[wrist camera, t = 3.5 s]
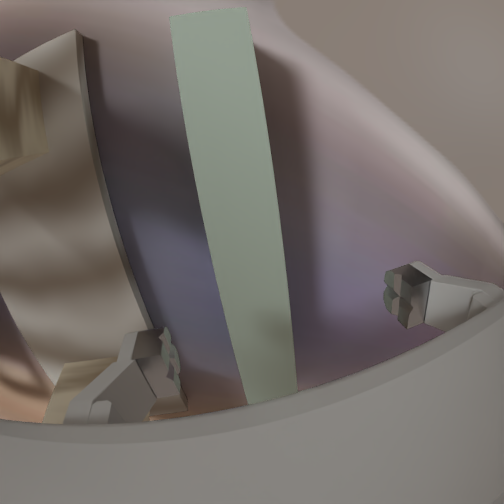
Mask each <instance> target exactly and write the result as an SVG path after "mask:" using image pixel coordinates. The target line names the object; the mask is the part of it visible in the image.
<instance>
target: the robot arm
mask: <svg viewBox="0 0 504 504" xmlns="http://www.w3.org/2000/svg"><path fill="white" fill-rule="evenodd" d="M384 282H385V283H386V285H387V287H386V289H385V291H384V303H385V306H386V308H387V310H388V311H389V312H390V313H391V314H393V315H397V316H398V321H399V322H400V323H401V324H402V325H403V326H404V327H405V328H406V329H409V328H411V327H414V326H416V325H419V324H421V323H425V324H427V325H430V326H432V327H435V328H437V329H440V330H442V331H445V332H446V333H444V334H442V335H440V336H438V337H436V338H434V339H432V340H430V341H428V342H426V343H424V344H422V345H420V346H417V347H415V348H413V349H411V350H409V351H407V352H405V353H402V354H400V355H398V356H396V357H393V358H391V359H389V360H386V361H384V362H381V363H379V364H376V365H374V366H372V367H369V368H367V369H364V370H361V371H359V372H356V373H353V374H351V375H348V376H345V377H343V378H340V379H337V380H334V381H331V382H328V383H325V384H322V385H319V386H316V387H313V388H309V389H306V390H303V391H299V392H296V393H293V394H289V395H285V396H282V397H278V398H274V399H270V400H266V401H262V402H258V403H254V404H250V405H245V406H241V407H236V408H231V409H226V410H221V411H216V412H210V413H205V414H199V415H192V416H186V417H179V418H171V419H163V420H154V421H143V420H144V418H145V417H146V415H147V414H148V412H149V411H150V409H151V408H152V406H153V405H154V403H155V402H156V400H157V399H156V398H162V397H168V396H174V395H179V394H180V379H179V377H178V374H179V373H180V360H179V356H178V353H177V350H176V347H175V346H174V345H172V344H171V335H170V333H169V330H168V328H167V327H160V328H155V329H149V330H142V331H136V332H131V333H127V334H125V335H124V338H123V342H122V345H121V348H120V352H119V355H118V359H117V362H114V363H112V364H111V365H110V366H109V367H107V368H106V369H105V370H104V371H103V372H102V373H101V374H100V375H99V376H97V377H96V378H95V379H94V380H93V381H92V382H91V383H90V384H89V385H88V386H86V387H85V388H84V389H83V390H82V391H81V392H80V393H79V394H78V395H77V396H75V397H74V398H73V399H72V400H71V401H70V403H69V406H68V409H67V412H66V415H65V418H64V421H63V424H49V423H33V422H22V421H12V420H4V419H0V504H504V290H503V289H501V288H500V287H498V286H497V285H495V284H494V283H488V282H483V281H477V280H471V279H466V278H460V277H455V276H449V275H444V276H442V275H441V274H439V273H438V272H436V271H434V270H433V269H431V268H430V267H428V266H426V265H425V264H423V263H422V262H420V261H414V262H412V263H409V264H406V265H404V266H401V267H398V268H395V269H392V270H389V271H386V274H385V279H384ZM142 421H143V422H142Z"/></svg>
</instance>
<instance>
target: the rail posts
mask: <svg viewBox="0 0 504 504" xmlns="http://www.w3.org/2000/svg"><path fill="white" fill-rule="evenodd" d="M0 293H1V295H2V297H3V299H4V301H5V303H6V305H7V307H8V309H9V311H10V313H11V315H12V317H13V319H14V321H15V323H16V325H17V327H18V328H19V330H20V332H21V334H22V336H23V337H24V339H25V341H26V342H27V344H28V346H29V347H30V349H31V351H32V352H33V354H34V356H35V357H36V359H37V360H38V362H39V363H40V365H41V366H42V368H43V369H44V371H45V372H46V374H47V375H48V377H49V378H50V380H51V381H52V382H53V384H54V385H55V389H54V391H53V394H52V396H51V399H50V402H49V404H48V407H47V410H46V413H45V416H44V418H43V421H42V423H49V424H63V421H64V418H65V415H66V412H67V409H68V406H69V403H70V401H71V400H72V399H73V398H74V397H75V396H77V395H78V394H79V393H80V392H81V391H82V390H83V389H84V388H85V387H86V386H88V385H89V384H90V383H91V382H92V381H93V380H94V379H95V378H96V377H97V376H99V375H100V374H101V373H102V372H103V371H104V370H105V369H106V368H107V367H109V366H110V365H111V364H112V363H114V362H117V359H118V355H119V352H120V348H121V345H122V342H123V338H124V335H125V334H127V333H131V332H136V331H142V330H149V329H154V327H153V324H152V322H151V319H150V317H149V315H148V312H147V310H146V307H145V304H144V302H143V299H142V297H141V294H140V291H139V289H138V286H137V283H136V280H135V278H134V275H133V272H132V269H131V266H130V263H129V260H128V258H127V255H126V251H125V248H124V245H123V242H122V239H121V236H120V233H119V229H118V226H117V223H116V219H115V216H114V212H113V209H112V205H111V201H110V198H109V194H108V190H107V186H106V182H105V178H104V174H103V169H102V165H101V161H100V156H99V152H98V147H97V142H96V137H95V131H94V126H93V120H92V115H91V108H90V102H89V95H88V88H87V80H86V71H85V62H84V50H83V36H82V35H81V34H80V33H79V32H78V31H77V30H76V29H75V30H72V31H70V32H68V33H65V34H63V35H61V36H59V37H57V38H55V39H53V40H50V41H48V42H46V43H44V44H42V45H41V46H39V47H37V48H35V49H33V50H31V51H29V52H28V53H26V54H24V55H22V56H21V57H19V58H17V59H15V60H14V61H11V60H8V59H5V58H2V57H0ZM156 399H157V400H156V402H155V403H154V405H153V406H152V408H151V409H150V411H149V412H148V414H147V415H146V417H145V418H144V420H143V421H149V416H154V415H162V414H169V413H176V412H183V411H188V403H187V398H186V396H185V394H184V392H183V390H182V388H181V386H180V394H179V395H174V396H168V397H162V398H156ZM143 421H142V422H143Z"/></svg>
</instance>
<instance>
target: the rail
mask: <svg viewBox="0 0 504 504" xmlns="http://www.w3.org/2000/svg"><path fill="white" fill-rule="evenodd" d="M169 20H170V28H171V36H172V43H173V50H174V58H175V65H176V71H177V78H178V85H179V91H180V97H181V104H182V110H183V116H184V122H185V127H186V133H187V139H188V144H189V150H190V155H191V161H192V166H193V171H194V177H195V182H196V187H197V192H198V197H199V202H200V207H201V212H202V217H203V222H204V226H205V231H206V236H207V240H208V245H209V250H210V254H211V259H212V263H213V267H214V272H215V276H216V281H217V285H218V289H219V293H220V298H221V302H222V306H223V310H224V314H225V318H226V322H227V326H228V330H229V334H230V338H231V342H232V346H233V350H234V354H235V358H236V362H237V365H238V369H239V373H240V377H241V380H242V384H243V388H244V391H245V395H246V399H247V402H248V405H249V404H253V403H257V402H262V401H266V400H270V399H273V398H277V397H281V396H285V395H288V394H292V393H295V392H298V390H297V377H296V365H295V354H294V343H293V332H292V322H291V312H290V302H289V293H288V284H287V275H286V266H285V257H284V248H283V240H282V232H281V224H280V216H279V208H278V201H277V193H276V186H275V178H274V171H273V164H272V157H271V150H270V144H269V137H268V130H267V124H266V117H265V111H264V105H263V99H262V92H261V86H260V80H259V75H258V69H257V63H256V57H255V52H254V46H253V41H252V35H251V30H250V25H249V19H248V14H247V9H246V7H242V8H228V9H218V10H209V11H202V12H195V13H188V14H182V15H177V16H171V17H169Z"/></svg>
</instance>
